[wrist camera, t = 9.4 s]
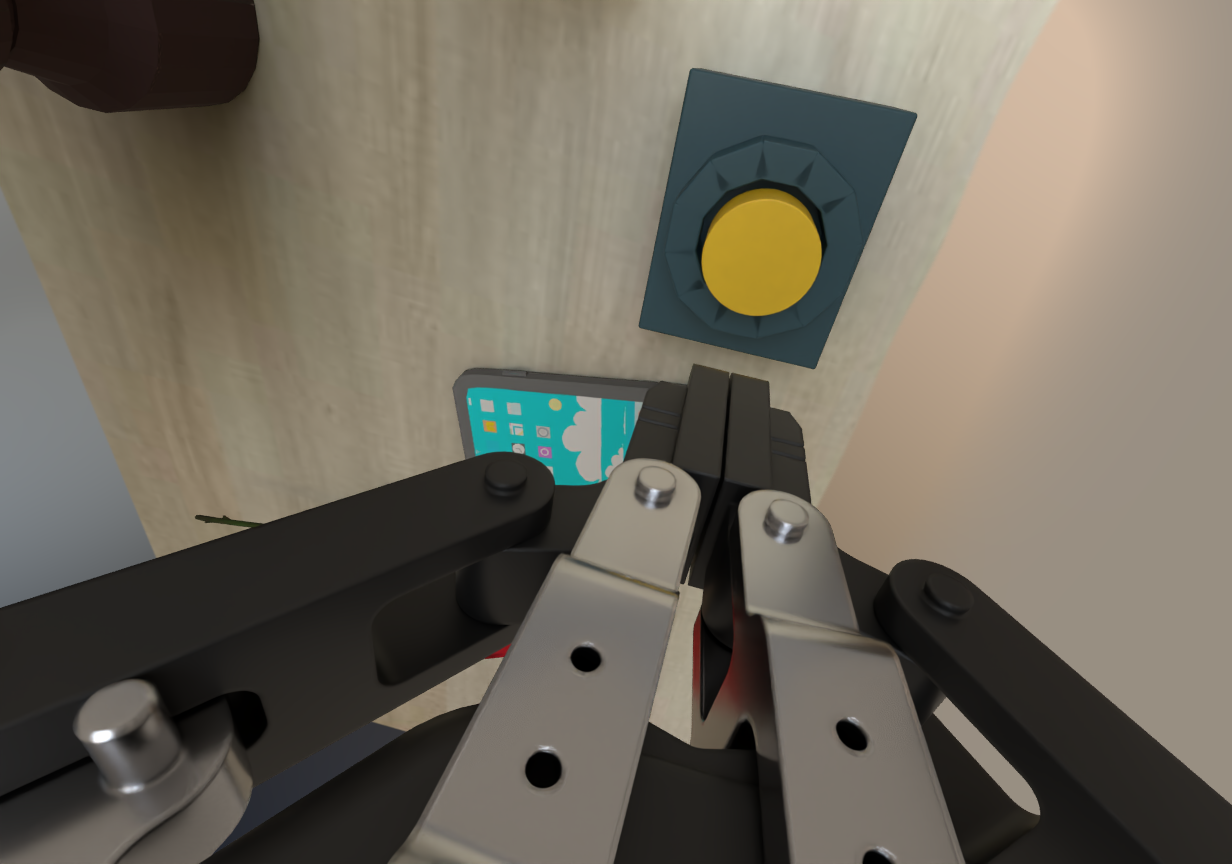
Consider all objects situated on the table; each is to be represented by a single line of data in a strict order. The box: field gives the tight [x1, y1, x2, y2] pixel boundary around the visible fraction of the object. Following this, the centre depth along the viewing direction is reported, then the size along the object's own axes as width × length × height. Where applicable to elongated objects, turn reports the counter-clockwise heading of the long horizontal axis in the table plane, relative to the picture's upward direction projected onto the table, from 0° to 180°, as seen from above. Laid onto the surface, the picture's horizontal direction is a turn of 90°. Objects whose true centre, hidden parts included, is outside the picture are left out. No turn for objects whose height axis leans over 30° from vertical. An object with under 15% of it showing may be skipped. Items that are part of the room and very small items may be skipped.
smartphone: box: [453, 369, 687, 485], centre depth 34 cm, size 9×1×15 cm
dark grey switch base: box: [639, 68, 917, 369], centre depth 23 cm, size 10×8×6 cm
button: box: [701, 188, 822, 316], centre depth 21 cm, size 4×4×2 cm
